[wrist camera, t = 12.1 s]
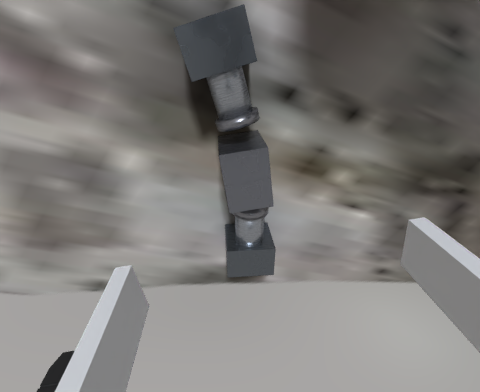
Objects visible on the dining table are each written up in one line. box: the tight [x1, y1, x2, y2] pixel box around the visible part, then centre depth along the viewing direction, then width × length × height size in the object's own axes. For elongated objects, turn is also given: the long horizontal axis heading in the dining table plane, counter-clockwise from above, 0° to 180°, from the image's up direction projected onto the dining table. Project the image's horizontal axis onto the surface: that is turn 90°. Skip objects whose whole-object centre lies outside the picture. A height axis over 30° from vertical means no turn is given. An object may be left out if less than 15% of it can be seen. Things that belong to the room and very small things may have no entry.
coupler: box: [218, 130, 273, 213], centre depth 25 cm, size 6×4×6 cm
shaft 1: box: [174, 5, 260, 132], centre depth 22 cm, size 8×5×5 cm, turn 16°
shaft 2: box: [225, 207, 275, 277], centre depth 29 cm, size 8×5×5 cm, turn 0°
